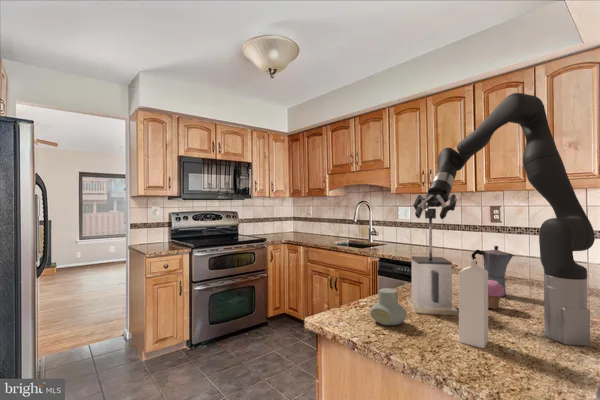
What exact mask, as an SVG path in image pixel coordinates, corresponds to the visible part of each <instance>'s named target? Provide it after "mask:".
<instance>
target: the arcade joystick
mask: <svg viewBox="0 0 600 400" xmlns="http://www.w3.org/2000/svg"><path fill="white" fill-rule="evenodd" d="M452 278H453V262H451V261H450V260H448V259H446V258H444V257H443V256H432V260H429V256H411V296H406V302H407V304H408V306H410V309H411V310H412V311H413V313H414V314H423V315H441V316H442V315H444V316H445V315H446V316H459V309H457V308H456V307H454V306H453V282H452V281H453V279H452Z"/></svg>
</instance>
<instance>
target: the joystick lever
mask: <svg viewBox="0 0 600 400" xmlns="http://www.w3.org/2000/svg"><path fill="white" fill-rule="evenodd" d="M424 219H428V257H429V260H432V257H433V219H437V208H427V209H424Z"/></svg>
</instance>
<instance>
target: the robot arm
mask: <svg viewBox="0 0 600 400" xmlns="http://www.w3.org/2000/svg"><path fill="white" fill-rule="evenodd" d="M509 123H513V124H517V125H518V124H519V126H520V127H521V129H522V132H523V135H524V137H525V147H524V151H523V154H522V155H523V156H522V166H523V168H524V172H525V174H526V178H527V179H528V181H529V183H530V185H531V186H532V187H533V189H535V190H536V191H537V192H538V193H539V194H540V195H541V196H542V197H543V198H544V199H545V200H546V201H547V202H548V204H549V205H550V207H551V208H552V210H553V212H554V214H555V216H556V217H555V218H554V217H553V218H548V219H546V220H545V221H543V222H542V223H541V226H540V227H539V232H538V233H539V234H538V244H539V256H540V258H539V259H540V263H541V265H542V268H543V281H544V282H543V299H544V300H543V301H544V302H543V308H544V309H543V310H544V311H543V313H544V314H543V315H544V317H543V319H544V324H543V325H544V331H543V332H544V335H545V336H546V337H547V338H548V339H551V340H552V341H555V342H559V343H562V344H564V345H570V346H573V345H574V346H586V347H587V346H588V347H590V346H591V312H590V309H589V308H588V270H587V268H586V267H584V266H583V265H581V264H578V263H577V262H576V261H575V259H574V253H573V252H583V251H587V250H589V249H590V248H592V246H593V245H594V243H595V240H596V239H595V238H596V234H595V231H594V227H593V226H592V223H591V221H590V219H589V218H588V216H587V214H586V212H585V210H584V208H583V206H582V205H581V203H580V201H579V199H578V197H577V195H576V193H575V190H574V187H573V185H572V183H571V180H570V178H569V176H568V173H567V170H566V167H565V164H564V161H563V159H562V157H561V155H560V153H559V150H558V147H557V145H556V142H555V140H554V137H553V134H552V132H551V129H550V126H549V121H548V117H547V113H546V108H545V105H544V103H543V101H542V99H541V98H539V97H538V96H535V95H532V94H527V93H522V92H514V93H511V94H509V95H507V96H506V97H505V98H504V99H503V100H502V101H501V102H500V103H499V104H498V105H497V106H496V107H495V108H494V109H493V111H491V113H489V115H488V116H486V118H485V119H484V120H483V121H482V122H481V123H480V125H479V126H478V127H476V128H475V129H474V130H473V131H472V132H471V133H469V134H468V135H467V136H465V138H463V139H462V140H461V141H459V142H458V144H457V145H456V150H455V149H454V148H452V147H444V148H442V149H441V151H440V152H439V154H438V156H437V171H436V173H435V175H434V176H433V178H432V181H431V183H430V185H429V187H428V190H427V194H426V195H425V196H422V195H421V194H418V195H417V197H416V198H415V200H414V203H413V204H412V205H413V207H414V210H415V213H414V214H415V217H416V218H417V219H420V218H421V216H422V214H423V211H425V209H430V208H434V207H435V208H440V207H441V209H440V213H439V217H440V219H441V220H444V219H445V218H447V214H448V212H449V211H451V212H452V211H455V208H456V205H457V201H458V200H457V196H456V194H455V193H454V194H453V193H452V194H451V192H452V189H453V187H454V182H455V179H456V176H457V172H458V171H460V170H462V169H463V168H464V167H465V165H466V164H467V162H469V160H470V159H471V158H472V157H473V156H474V155H475V154H477V153H478V152H480V151H481V150H483V149H484V148H485V147H486V146H488V144H489V142H490V141H491V139H492V136H493V135H494V133H495V132H496V131H497V130H499V129H500V128H501V127H503V126H505V125H507V124H509ZM448 201H449V204H448V205H447V204H446V203H447V202H448Z"/></svg>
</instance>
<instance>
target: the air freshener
mask: <svg viewBox="0 0 600 400" xmlns="http://www.w3.org/2000/svg"><path fill="white" fill-rule="evenodd" d="M398 292H399V291H398V290H396V289H395V288H391V287H389V288H388V287H385V288H380V289H379V290H378V297H377V298H378V300H377V301H378V302H376V303H374V304H372V306H371V307H370V310H369V311H370V312H369V313H370V316H371V317H372V319H373V320H374V321H375V322H377V323H379V324H380V325H382V326H387V327H390V326H398V325H400V324H402V323H403V322H405V320H406V318H407V311H406V309H405V308H404V307H403V306H402V305H401V304H400V303H399V293H398Z"/></svg>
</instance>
